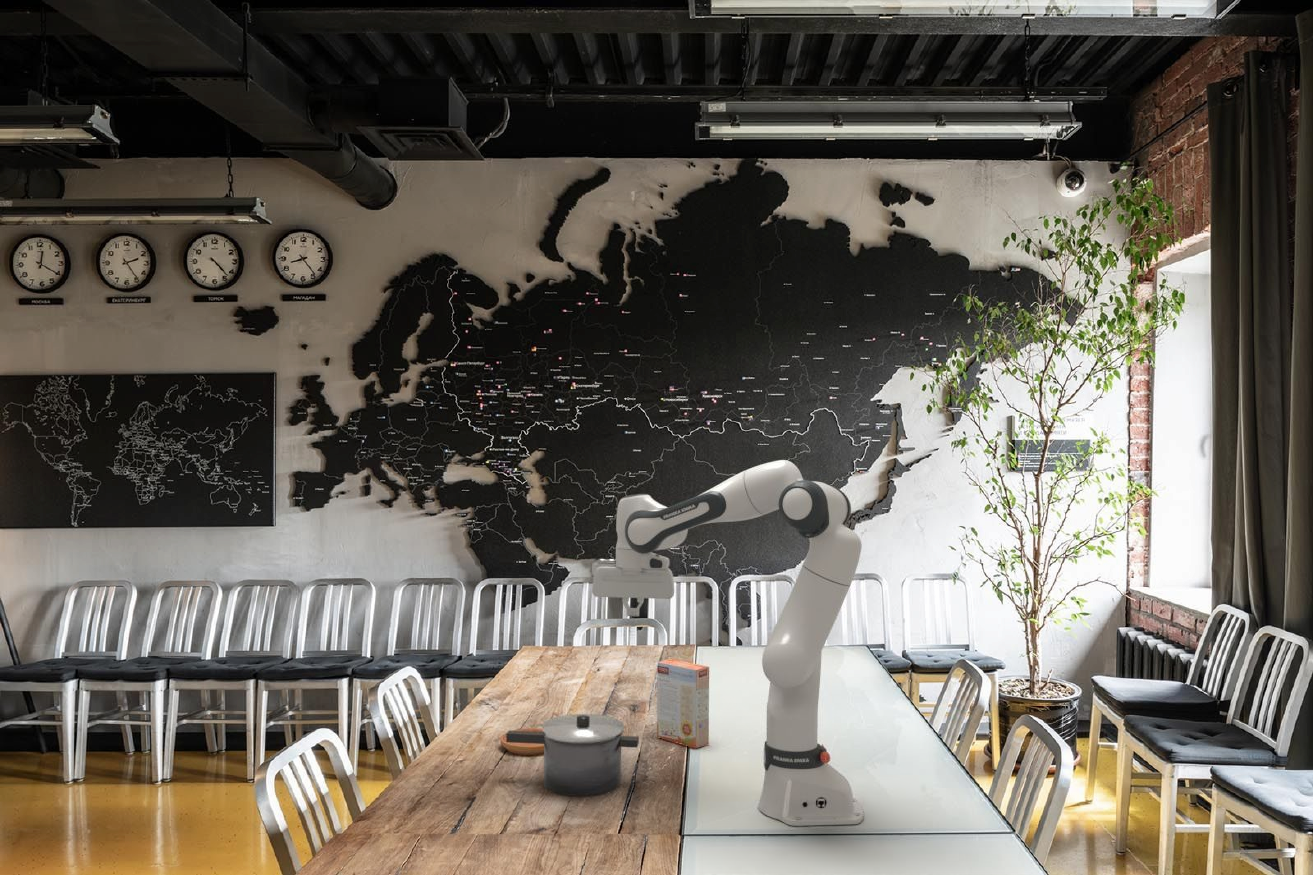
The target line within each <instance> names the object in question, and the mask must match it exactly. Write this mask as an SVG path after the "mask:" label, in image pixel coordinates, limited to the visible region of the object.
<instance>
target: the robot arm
mask: <svg viewBox="0 0 1313 875" xmlns="http://www.w3.org/2000/svg"><path fill="white" fill-rule="evenodd" d="M777 510H779V511H778V512H779V514H780V515H781V518H782V519H783V520H784V521H785V522H786V523H787V524H788V525H789V526H790V527H792V528H793V529H794V531H796V532H797V534H799V535H800V536H801V537H802V538H804V539H809V549H808V551H807V554H806V557H805V558H804V561H803V563H802V566H801V567H800V570H799V572H798V575H797V578H796V579H795V582H794V584H793V587H792V590H791V591H790V594H789V596H788V598H787V601H786V603H785V605H784V607H783V609H782V611H781V612H780V615H779V617H778V619H777V621H776V623H775V626H774V627H773V629H772V632H771V635H769V636H770V637H769V638H768V641H767V643H766V644H765V647H764V649H763V653H762V658H761V666H762V671H763V673H764V676H765V677H766V679H767V680H768V681H769V690H768V695H767V696H768V698H767V703H766V740H765V741H764V746H763V768H764V779H763V785H762V789H761V790H762V791H761V794H760V799H759V801H758V806H757V808H758V809H759V811H760V812H761V813H762V814H764V815H765V816H768V817H770V818H772V819H776V820H779V821H782V822H783V823H784V824H786V825H788V826H792V827H795V826H796V827H797V826H803V827H804V826H833V825H834V826H835V825H837V826H838V825H841V826H842V825H857V824H860V823H862V821H863V820H864V817H865V816H864V808H863V806H862V803H860V802H859V800H858V799H856V798H854V796H853V791H852V787H851V784H850V782H849V780H848V779H847V777H846V776H845V775H843V774H842V773H841V772H839V771H838V770H837V769H836V768H834V767H833V766H832V765H831V764H829V762H831V755H830V753H829V752H827V748H826V747H825V746H824V744H820V743H818V727H819V726H818V721H819V720H818V714H819V698H820V686H821V684H820V683H821V675H822V674H821V673H822V672H821V671H822V670H821V669H822V652H823V651H822V650H823V649H824V647H825V644H826V643H827V642H826V641H827V640H828V638H829V635H830V633H831V632H832V628H833V627H834V624H835V623H836V620H837V618H838V616H839V613H840V611H841V609H842V606H843V603H844V602H845V599H846V597H847V594H848V592H849V590H850V588H851V586H852V582H853V580H854V577H855V575H856V571H857V569H858V568H857V567H858V564H859V560H860V557H861V553H862V546H863V545H862V544H863V543H862V541H861V539H860V537H859V535H858V534H857V533H856V532H855V531H854V530H852V529H851V528H849V527H847V526H846V524H848V521H849V520H850V517H851V514H852V513H851V512H852V506H851V501H850V500H849V498H848V496H847V495H846V494H845V492H844V491H842V490H841V489H839V488H838V487H836V486H833V485H829V484H827V483H825V482H822V481H814V480H807V479H806V480H805V479H804V478H803V475H802V474H801V471H800V469H799V468H798V466H797V465H795V464H794V463H793V462H792V461H790V460H787V459H779V460H773V461H770V462H766V463H762V464H758V465H756V466H753V467H751V468H748V469H746V470H743V471H741V472H739V473H737V474H734V475H733V476H731V477H729V478H727V479H726V480H724V481H722V482H721V483H719V484H717V485H715V486H713V487H712V488H710V489H708V490H706V491H704V492H702V493H700V494H699V495H697V496H694V497H692V498H689V499H687V500H684V501H681V502H678V503H676V504H674V505H673V504H672V505H671V506H668V507H667V506H666V505H663V504H661V503H660V502H658V501H656V500H655V499H654V498H652V496H651V495H649V494H647V493H637V494H631V495H625V496H623V497H622V498H621V499H620V500H619V502H618V505H617V510H616V519H615V520H616V525H615V526H616V528H615V531H616V533H617V534H616V535H617V540H616V546H615V558H609V559H608V558H598V559H597V560H595V561H593V563H592V565H591V573H592V576H593V578H592V579H593V580H592V585H591V586H592V587H591V593H592V595H593V596H594V597H597V598H622V599H621V600H622V601H621V602H622V604H623V606H624V608H625V609H626V616H627V617H640V609H641V607H642V605H643V603H644V600H645V599H655V600H656V599H662V600H663V599H665V600H670V599H672V598H674V596H675V581H674V574H673V571H672V570H671V569H670V568H669V566H670V558H668V557H667V556H663V555H660V554H658V553H656V552H655V551H660V550H666V549H673V548H675V547H678V546H680V545H681V544H683V543H684V542H685V541H686V539H687V536H688V534H689V529H693V528H695V527H698V526H701V525H705V524H711V523H712V524H713V523H714V524H715V523H729V522H731V523H732V522H741V521H742V522H743V521H748V520H753V519H755V518H756V519H757V518H759V517H762V516H764V515H767V514H770V513H772V512H775V511H777ZM654 552H655V553H654ZM630 599H637V600H636V601H637V603H638V604H637V607H630V605H629V601H630Z"/></svg>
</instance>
